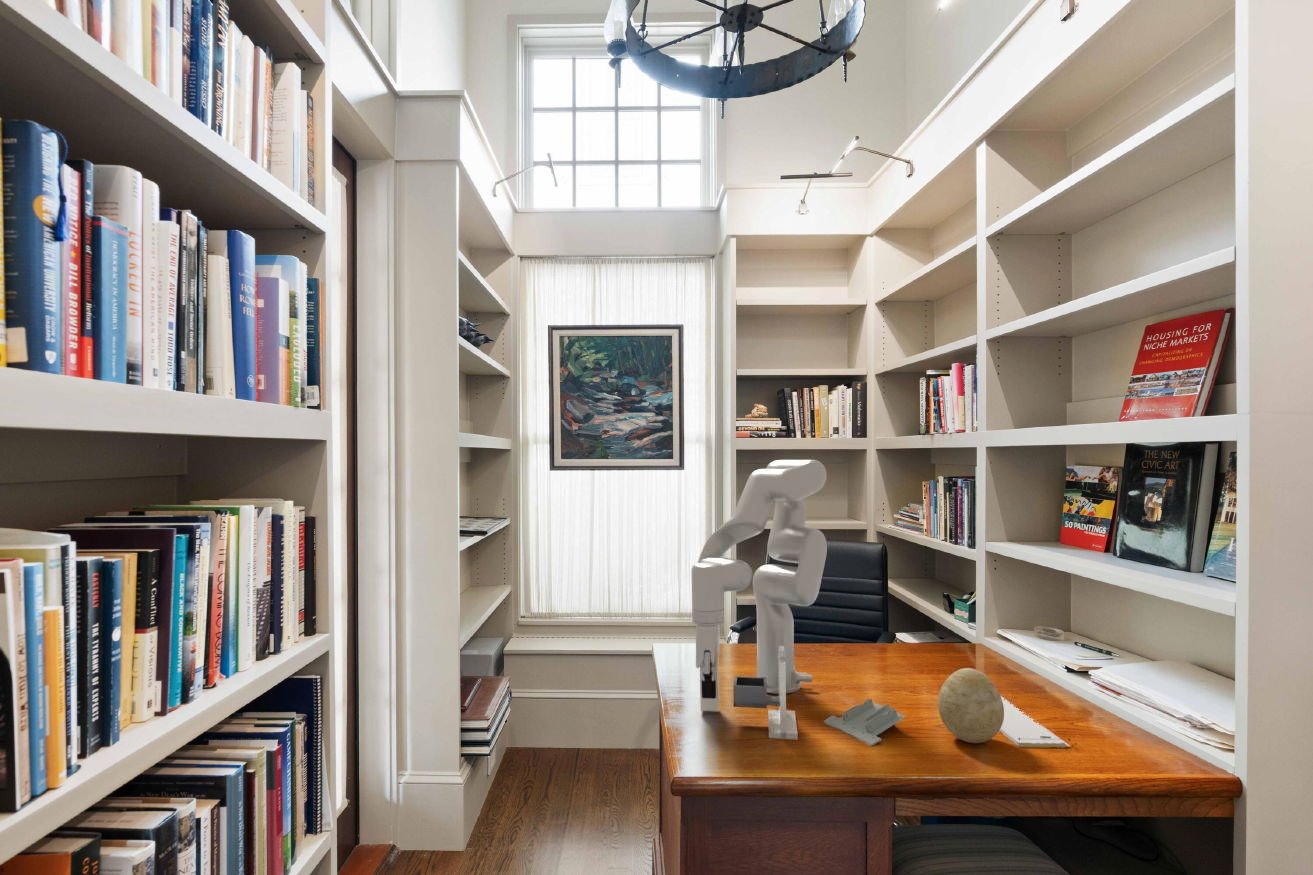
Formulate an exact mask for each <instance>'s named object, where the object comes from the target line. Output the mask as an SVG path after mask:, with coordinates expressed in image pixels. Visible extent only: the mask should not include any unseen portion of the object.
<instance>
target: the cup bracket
mask: <svg viewBox="0 0 1313 875" xmlns="http://www.w3.org/2000/svg"><path fill="white" fill-rule="evenodd" d="M778 649H779V694H778V696H772V695H771V696H770V695H769V696H768V694H767V678H765V677H757V676H741V675H735V676H734V679H733V693H732V694H733V695H732V696H733V705H732V706H733V707H735V708H750V709H752V708H753V709H767V708H768V706H773V707H775V706H777V707H778V709H767V710H768V711H767V712H768V716H767V717H768V718H767V719H768V738H769V739H777V740H778V739H781V740H799V739H798V738H799V734H798V727H797V726H798V725H797V719H796V711H795V710H787V693H786V661H785V652H784V646H780V645H778Z"/></svg>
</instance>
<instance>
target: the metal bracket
mask: <svg viewBox="0 0 1313 875" xmlns="http://www.w3.org/2000/svg"><path fill="white" fill-rule="evenodd" d="M890 707H891V706H890V703H886V704H884V705H881V704H878V703H875V702H873V700H872V699H871V698H869V697H867V699H866V700H865V701H864V702H863V703H861V704H857V705H854V706H852V707H851V708H849V709H848V710H845V711H844V712H843V713H842V717H837V716H835V715H831V716H829V717H828V718H826V719H825V720H823V723H824V724H825V725H828V726H829V727H832V728H835V729H837V730H839V731H841V732H843V733H845V734H847V735H849V734H850V735H849V736H850V737H853V738H855V739H857V740H858V741H859V740H860V741H859V742H861V741H864V742H866V744H865V745H867V744H868V745H867V746H870V745H873V746H874V745H876V744H879V742H881V741H882V738H881V737H879V736H878V735H879V734H882V733H883V732H885V731H887V730H888V729H889V728H891V727H892V726H893V725H894V726H893V727H895V726H896V727H897V723H899V722H901V721H902V720H904V719H906V715H905V714H901V713H899V712H897V709H895V708H893V707H892V708H890Z"/></svg>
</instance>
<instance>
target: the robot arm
mask: <svg viewBox="0 0 1313 875" xmlns="http://www.w3.org/2000/svg"><path fill="white" fill-rule="evenodd" d="M827 477H828V476H827V470H826V467H825V466H824V464H823V463H822V462H820V460H817V459H777V460H773V461H772V462H770V463H768V464H767V466H766V467H765V468H759V469H756V470H754V471H753V472H751V474H750V475H749V476H748V479H747V480H746V484H745V486H744V488H743V491H742V493H741V494H740V495H741V496H740V498H739V500H738V503H737V506H736V507H735V510H734V513H733V514H732V516H731V517H730V518H729V519H728V520H727V521H726V522H724V523H723V524H722V525H720V527H718V528H717V529H716V530H715V531H714V532H713V533H712V534H710V536H709V537H708V539H707V540H706V542H705V544H704V545H703V546H702V550H701V552H700V554H699V557H698V560H697V563H695V564H693V565H692V568H691V614H692V615H691V616H692V617H691V618H692V620H691V621H692V622H691V623H692V624H694V625H696V626H695V627H696V630H695V668H696V669H700V667H701V665H702V698H713V699H714V698H716V680H714V669H715V668H716V667H717V663H718V664H719V658H720V657H719V656H720V625H723V624H724V623H725V593H726V592H741V591H744V590H745V589H747V588H748V587H749V586H750V585H751V583H752V588H753V594H754V598H755V605H756V677H765V678H767V693H768V694H773V695H774V694H775V695H776V694H777V695H779V649H778V645H780V646H784V652H785V661H786V694H791V693H796V692H797V691H799V690H800V688H801V683H802V682H803V683H813V675H812V674H808V673H807V672H798V671H796V667H795V663H794V662H795V652H794V650H795V642H794V641H795V638H794V637H795V636H794V635H795V633H794V632H795V631H794V630H795V629H794V627H795V624H794V617H793V616H794V615H793V613H792V610H791V608H790V606H789V605H793V606H799V607H808V606H811V605H813V604H814V603H815V601H816V599H817V598H818V595H819V593H820V588H821V584H822V578H823V573H824V571H825V570H824V569H825V565H826V564H825V563H826V560H827V554H828V553H827V552H828V543H827V539H826V537H825V535H824V533H823V531H821V530H819V529H817V528H814V527H806V526H805V525H806V521H807V514H808V513H807V512H808V511H807V506H806V503H805V501H804V500H803V499H805V498H808V497H809V496H811V495H814V494H816V493H817V492H820V490H821V489H823V488H824V486H825V484H826V482H827ZM773 507H774V508H775V510H774V515H773V519H772V523H771V528H770V532H769V536H768V541H767V554H768V555H769V556H770V558H772V559H773V560H776V561H778V562H784V563H785V562H786V563H794V564H798V565H797V567H796V566H795V567H794V566H788V565H781V564H770V563H769V564H764V565H761V566H760V567H758V568H757V569H756V570H755V571H754V573H753V570H752V567H751V566H750V565H749V563H747V562H745V561H744V560H741V559H738V558H737V559H735V558H728V557H724V556H725V555H726V553H727V552H728V551H729V550H730V549H732V547H733V546H735V545H736V544H739V543H740V542H743V541H746V540H748V539H750V538H752V537H755V536H758V535H759V534H762V533H763V532H764V531H765V529H766V526H767V523H768V520H769V517H770V514H771V512H772V509H773ZM710 665H712V667H710ZM710 670H712V672H710ZM800 682H801V683H800Z"/></svg>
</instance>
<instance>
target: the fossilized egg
mask: <svg viewBox="0 0 1313 875" xmlns="http://www.w3.org/2000/svg"><path fill="white" fill-rule="evenodd" d="M937 710H938V714H939V717H940V719H941V721H942V724H943V725H944V726H945V728H946V729H947V730H948V731H949V733H951V734H952V735H953V736H954V737H956V738H957V739H959V740H960V741H963V742H965V743H968V744H969V743H970V744H982V743H985V742H988V741H990V740H991V739H993V738H995V736H996V735H997V734H998V733H999V732H1000V731H999V730H1000V728H1001V726H1002V724H1003V720H1004V706H1003V702H1002V699H1001V695H1000V691H998V689H997V687H996V685H995V684H994V683H993V681H991V679H990V678H989V677H987V675H986V674H984V673H983V672H981V671H979V670H977V669H975V668H971V667H964V668H960V669H957V670H956V671H954V672H952V674H951V675H949V676H948V677H947V679H945V680H944V682H943V684H942V686H941V688H940V690H939V692H938V698H937Z"/></svg>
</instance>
